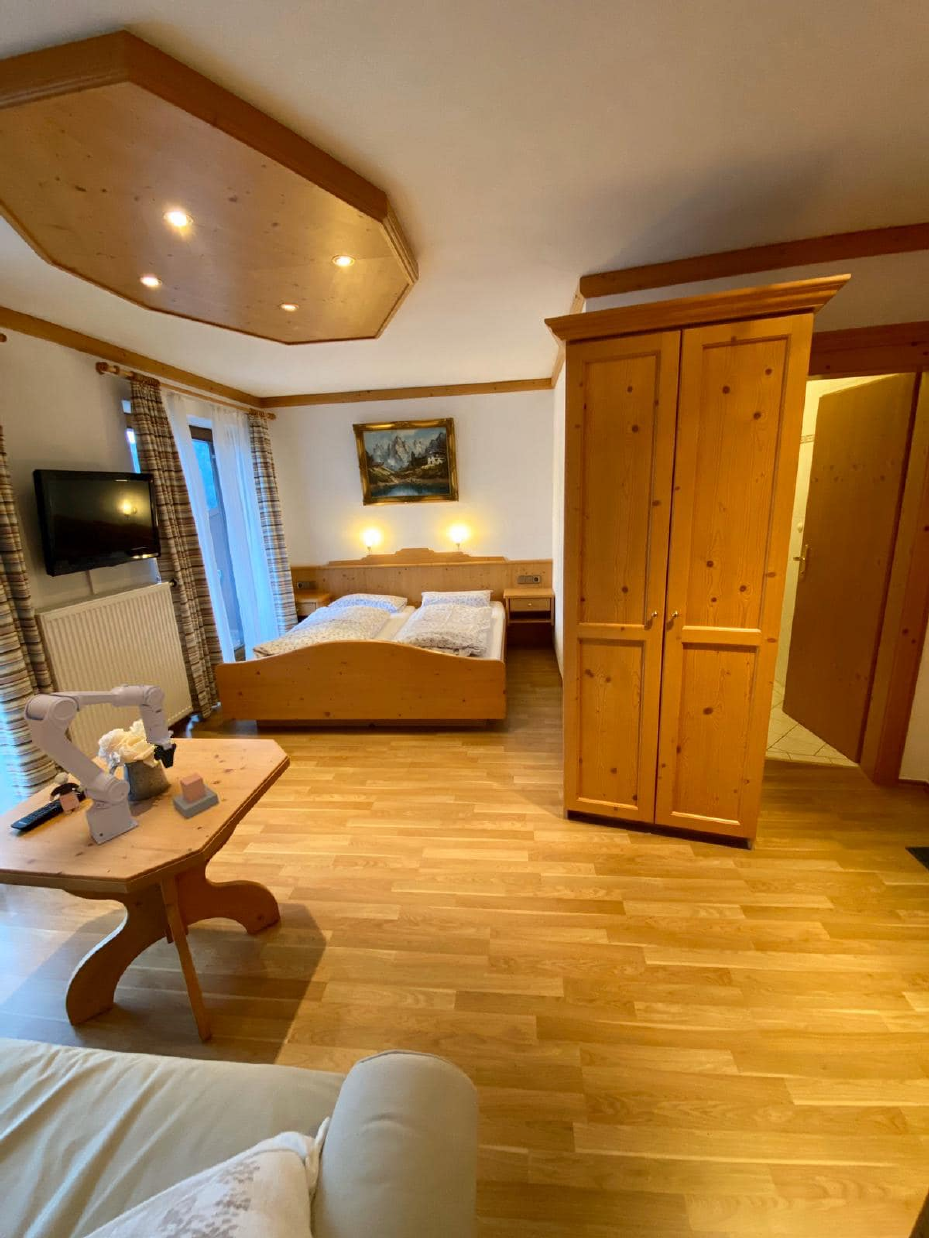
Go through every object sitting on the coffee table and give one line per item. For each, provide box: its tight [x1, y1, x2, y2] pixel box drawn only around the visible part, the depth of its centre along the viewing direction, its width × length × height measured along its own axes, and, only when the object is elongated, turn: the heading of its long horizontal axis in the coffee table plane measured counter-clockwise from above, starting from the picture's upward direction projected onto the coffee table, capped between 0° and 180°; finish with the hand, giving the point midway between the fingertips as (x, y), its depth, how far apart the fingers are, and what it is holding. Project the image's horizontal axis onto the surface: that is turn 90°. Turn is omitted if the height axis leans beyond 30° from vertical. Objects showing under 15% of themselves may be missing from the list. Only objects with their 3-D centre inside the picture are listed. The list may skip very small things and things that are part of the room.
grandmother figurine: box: [49, 771, 84, 815], centre depth 141 cm, size 8×4×13 cm, turn 141°
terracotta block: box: [179, 772, 206, 803], centre depth 141 cm, size 4×4×6 cm
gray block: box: [172, 784, 220, 820], centre depth 142 cm, size 9×9×3 cm
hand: (164, 763), depth 147 cm, fingers open, 7 cm apart
